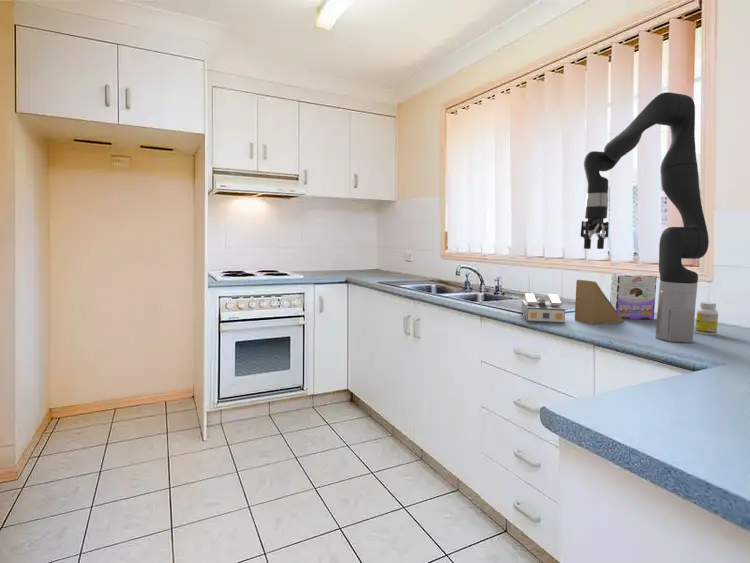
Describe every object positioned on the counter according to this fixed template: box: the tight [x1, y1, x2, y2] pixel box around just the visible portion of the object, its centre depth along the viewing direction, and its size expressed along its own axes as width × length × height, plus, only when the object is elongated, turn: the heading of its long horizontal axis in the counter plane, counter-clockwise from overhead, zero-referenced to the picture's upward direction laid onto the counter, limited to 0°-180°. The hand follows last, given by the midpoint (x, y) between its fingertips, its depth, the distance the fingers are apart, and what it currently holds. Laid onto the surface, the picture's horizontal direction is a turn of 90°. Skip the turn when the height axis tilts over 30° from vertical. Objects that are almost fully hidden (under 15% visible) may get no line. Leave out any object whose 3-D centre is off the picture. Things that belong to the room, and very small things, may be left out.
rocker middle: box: [535, 296, 550, 302], centre depth 164 cm, size 9×3×1 cm, turn 168°
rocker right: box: [547, 293, 563, 306], centre depth 163 cm, size 9×3×1 cm, turn 168°
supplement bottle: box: [695, 301, 719, 336], centre depth 141 cm, size 5×5×10 cm
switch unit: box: [520, 300, 566, 324], centre depth 164 cm, size 19×12×6 cm, turn 168°
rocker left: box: [524, 293, 537, 305], centre depth 165 cm, size 9×3×1 cm, turn 168°
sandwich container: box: [574, 279, 625, 325], centre depth 160 cm, size 9×15×15 cm, turn 111°
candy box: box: [609, 273, 657, 320], centre depth 167 cm, size 14×6×16 cm, turn 84°
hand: (593, 248), depth 169 cm, fingers open, 8 cm apart
